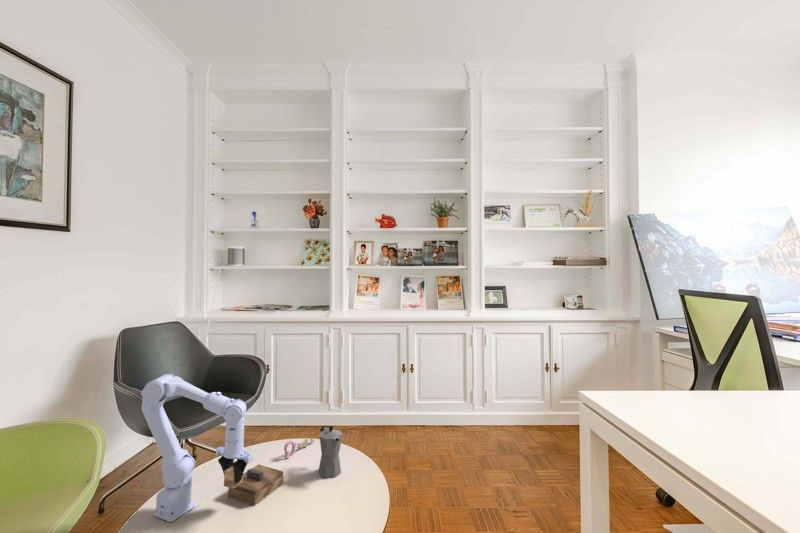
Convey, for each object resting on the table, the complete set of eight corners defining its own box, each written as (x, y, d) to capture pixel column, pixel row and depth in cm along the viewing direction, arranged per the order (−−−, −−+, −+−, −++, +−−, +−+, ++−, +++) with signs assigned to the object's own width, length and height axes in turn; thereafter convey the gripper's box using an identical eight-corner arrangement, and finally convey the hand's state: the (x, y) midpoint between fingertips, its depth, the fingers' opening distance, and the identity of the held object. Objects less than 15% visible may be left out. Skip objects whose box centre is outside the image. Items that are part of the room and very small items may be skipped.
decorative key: (315, 448, 172) (284, 460, 154) (313, 448, 172) (282, 459, 155) (317, 433, 173) (287, 442, 155) (315, 432, 174) (284, 442, 156)
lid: (255, 494, 124) (255, 483, 124) (228, 485, 129) (229, 475, 129) (283, 474, 137) (283, 464, 137) (258, 467, 142) (258, 457, 142)
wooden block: (232, 488, 121) (233, 473, 121) (223, 485, 123) (224, 470, 123) (242, 482, 125) (242, 467, 125) (233, 479, 126) (234, 465, 126)
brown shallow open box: (254, 505, 124) (255, 495, 124) (228, 496, 129) (228, 486, 129) (283, 484, 137) (283, 474, 137) (258, 476, 142) (258, 467, 142)
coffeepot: (348, 476, 144) (349, 429, 144) (325, 483, 138) (327, 435, 139) (330, 459, 156) (332, 416, 157) (309, 466, 151) (311, 421, 151)
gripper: (260, 438, 125) (258, 478, 124) (228, 430, 130) (227, 469, 130) (243, 446, 118) (242, 489, 118) (211, 438, 124) (209, 479, 124)
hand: (233, 479), depth 124 cm, fingers closed on wooden block, 4 cm apart
